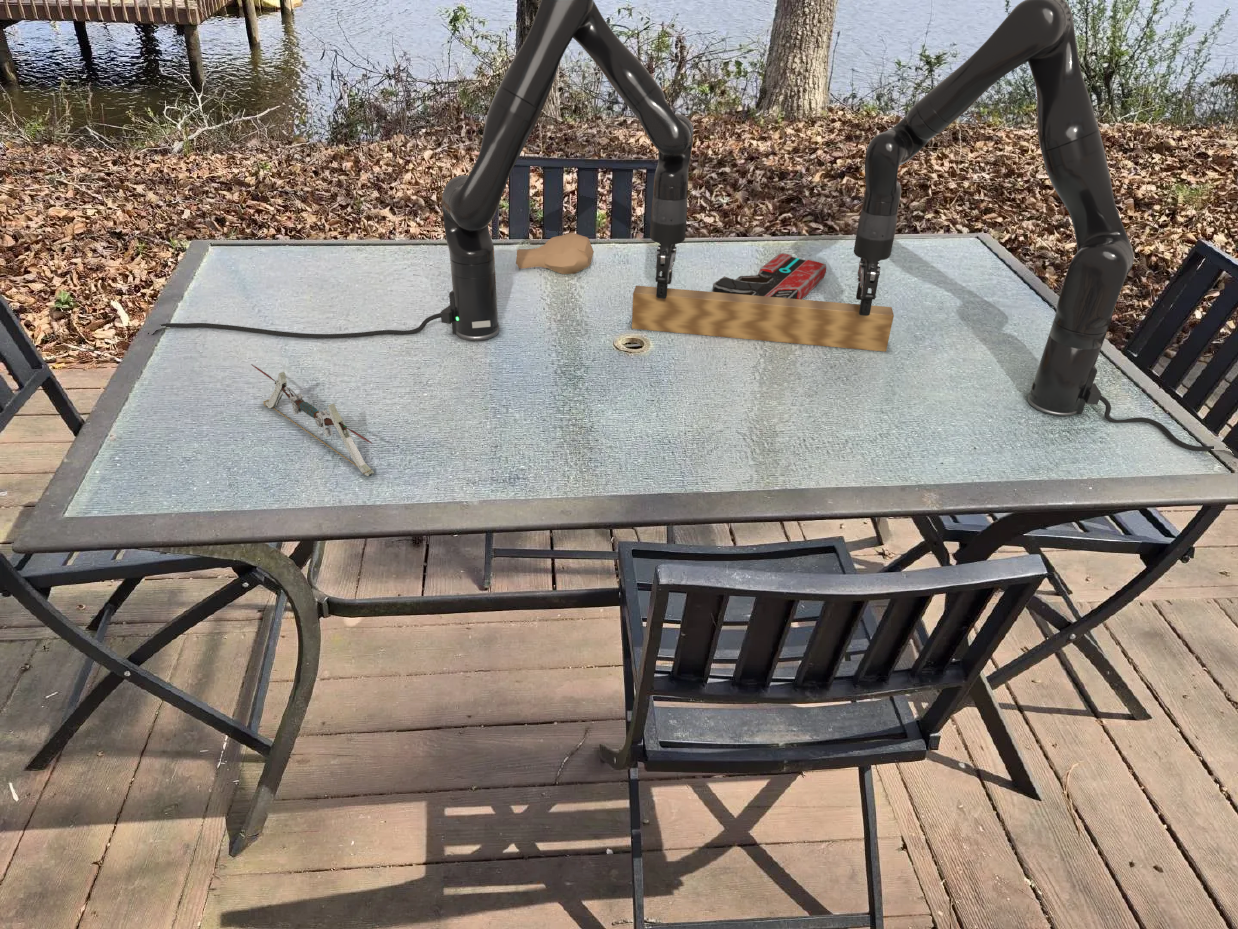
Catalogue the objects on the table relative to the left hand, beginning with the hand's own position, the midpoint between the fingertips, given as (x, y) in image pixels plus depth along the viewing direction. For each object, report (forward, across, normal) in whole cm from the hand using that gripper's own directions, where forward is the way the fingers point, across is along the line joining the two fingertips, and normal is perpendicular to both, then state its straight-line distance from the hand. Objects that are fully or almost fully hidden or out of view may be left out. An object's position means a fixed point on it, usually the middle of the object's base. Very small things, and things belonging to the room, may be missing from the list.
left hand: (663, 290), depth 192 cm
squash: (+9, +29, +31) cm, 44 cm away
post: (+9, 0, -21) cm, 23 cm away
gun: (+8, +27, -24) cm, 37 cm away
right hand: (0, +1, -43) cm, 43 cm away
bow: (+10, -59, +54) cm, 81 cm away
